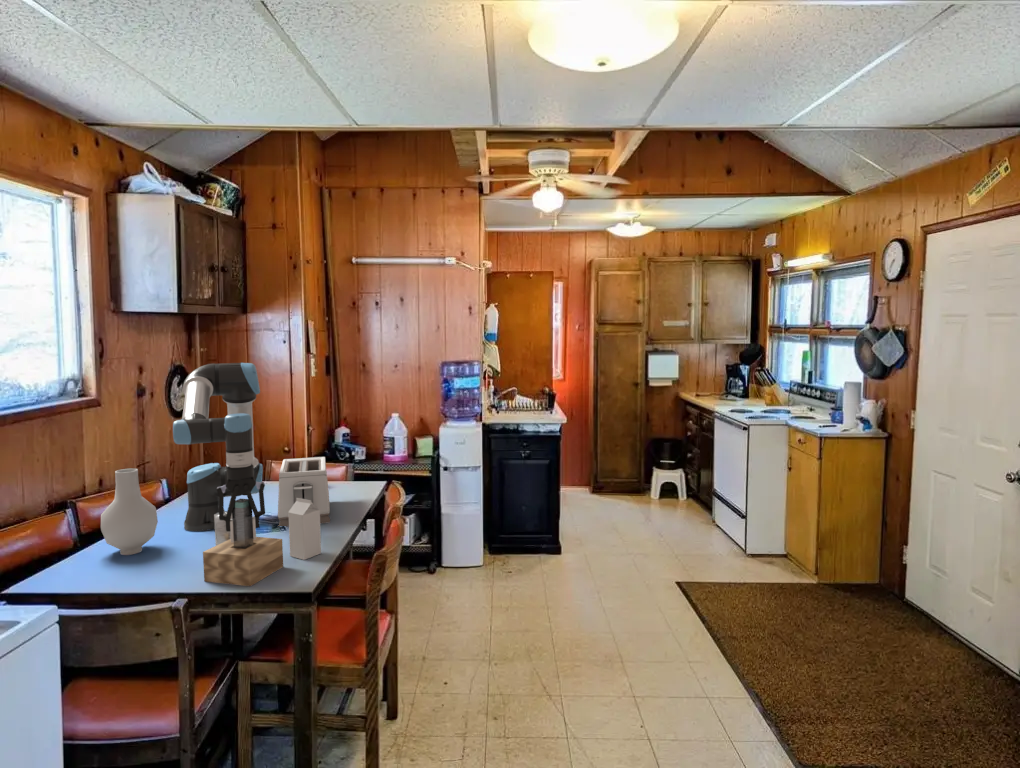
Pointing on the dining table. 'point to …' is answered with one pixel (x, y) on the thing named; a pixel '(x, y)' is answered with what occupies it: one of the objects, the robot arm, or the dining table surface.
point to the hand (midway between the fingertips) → (243, 539)
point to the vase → (128, 515)
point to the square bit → (242, 524)
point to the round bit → (221, 530)
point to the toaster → (303, 486)
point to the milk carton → (304, 529)
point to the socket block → (243, 562)
